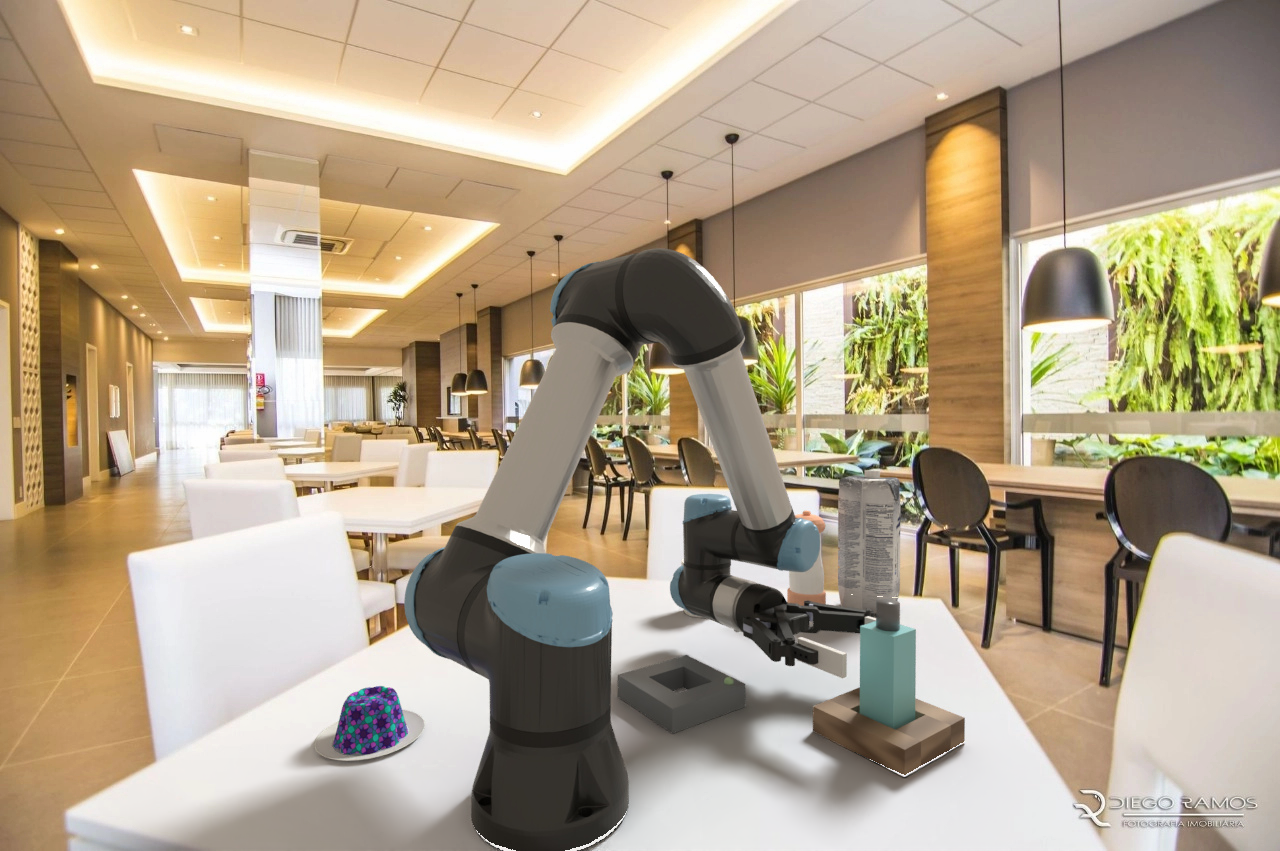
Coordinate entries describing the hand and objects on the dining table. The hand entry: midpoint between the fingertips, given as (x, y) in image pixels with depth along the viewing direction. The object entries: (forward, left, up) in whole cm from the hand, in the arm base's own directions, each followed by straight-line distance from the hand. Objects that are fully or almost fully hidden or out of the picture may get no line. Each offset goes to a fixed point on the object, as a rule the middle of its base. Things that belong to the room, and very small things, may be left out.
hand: (880, 652), depth 76 cm
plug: (-2, -1, -9) cm, 10 cm away
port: (+3, +24, -9) cm, 26 cm away
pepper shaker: (+47, +4, -10) cm, 49 cm away
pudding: (-12, +60, -10) cm, 61 cm away
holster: (-2, -1, -9) cm, 10 cm away
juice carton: (+49, -8, -10) cm, 51 cm away
